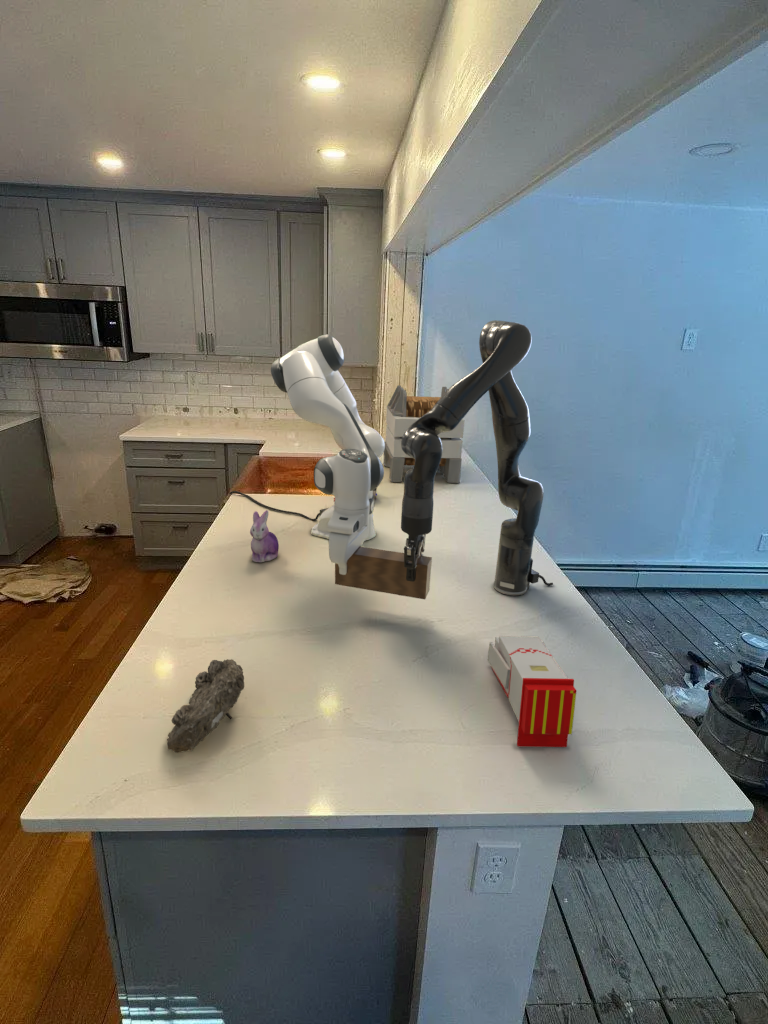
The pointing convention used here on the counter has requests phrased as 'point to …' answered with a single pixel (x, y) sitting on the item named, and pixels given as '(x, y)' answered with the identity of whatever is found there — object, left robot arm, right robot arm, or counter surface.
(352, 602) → the counter surface
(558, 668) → the toy
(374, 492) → the figurine character
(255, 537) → the figurine
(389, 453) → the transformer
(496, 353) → the right robot arm
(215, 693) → the fossil
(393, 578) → the bar
